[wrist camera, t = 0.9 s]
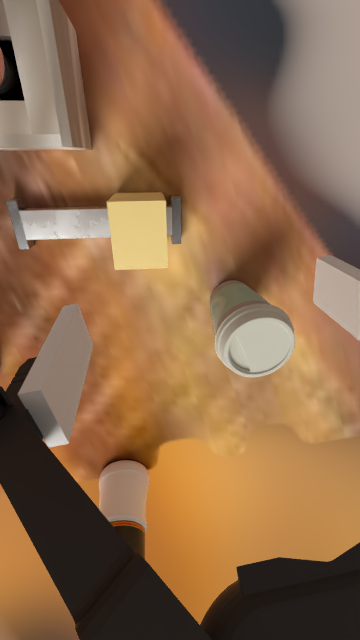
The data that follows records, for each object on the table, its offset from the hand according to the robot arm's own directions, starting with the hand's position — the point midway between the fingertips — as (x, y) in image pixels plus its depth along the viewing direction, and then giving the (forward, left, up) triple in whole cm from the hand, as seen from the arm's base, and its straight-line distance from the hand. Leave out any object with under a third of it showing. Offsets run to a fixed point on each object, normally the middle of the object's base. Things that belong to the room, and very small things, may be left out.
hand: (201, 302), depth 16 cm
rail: (-8, +1, -21) cm, 23 cm away
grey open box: (-13, +12, -21) cm, 28 cm away
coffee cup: (+8, -10, -22) cm, 25 cm away
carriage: (-4, +1, -21) cm, 22 cm away
